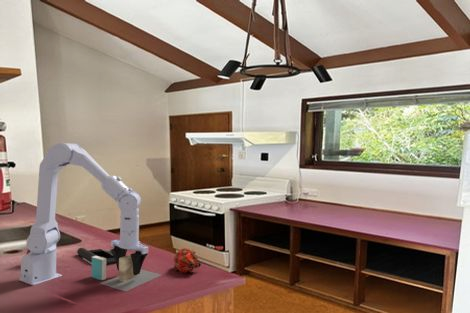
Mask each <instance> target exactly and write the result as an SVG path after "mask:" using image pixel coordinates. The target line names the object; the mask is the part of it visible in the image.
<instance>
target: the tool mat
mask: <svg viewBox="0 0 470 313" xmlns="http://www.w3.org/2000/svg"><path fill="white" fill-rule="evenodd" d="M159 277H162V274H160V273H157V272H152V271H149V270H145V269H142V268H141V271H140V274H138V276H137V277H134V278H132V279H130V280H127V281H125V282H123V281H120V280H119V275H116V276H114V277H112V278H109V279H107V280H105V281H103V282H99V284H100V285H103V286H107V287H109V288H112V289H116V290H119V291H123V292H124V293H125V292H128V291H130V290H132V289H134V288H137V287H138V286H141V285H143V284H145V283H148V282H150V281H153V280H154V279H156V278H159Z"/></svg>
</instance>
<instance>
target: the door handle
mask: <svg viewBox="0 0 470 313" xmlns="http://www.w3.org/2000/svg"><path fill="white" fill-rule="evenodd" d="M76 254H78V256H79V257H82V260H83V261H85V262H88V264H90V265H92V257H93V256H99V257H103V258H106V266H111V265H116V261H115V259H114V256H113V255H112V253H111V249H105V250H103V249H101V248H96V249H90V250H88V249H86V248H84V247H79V248H78V249H77V252H76Z"/></svg>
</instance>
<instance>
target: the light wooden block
mask: <svg viewBox="0 0 470 313" xmlns="http://www.w3.org/2000/svg"><path fill="white" fill-rule="evenodd" d="M118 276H119V280H120V281H123V282H125V281H127V280H130V279H132V278H134V277H137V276H138V275H134V274H133V263H132V258H131V256H130V254H126V256H124V257H121V258H119V271H118Z"/></svg>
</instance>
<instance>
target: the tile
mask: <svg viewBox="0 0 470 313" xmlns="http://www.w3.org/2000/svg"><path fill="white" fill-rule="evenodd" d="M91 278H93V279H96V280H100V281H103V280H106V279H107V265H106V258H104V257H99V256H93V257H92V264H91Z"/></svg>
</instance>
